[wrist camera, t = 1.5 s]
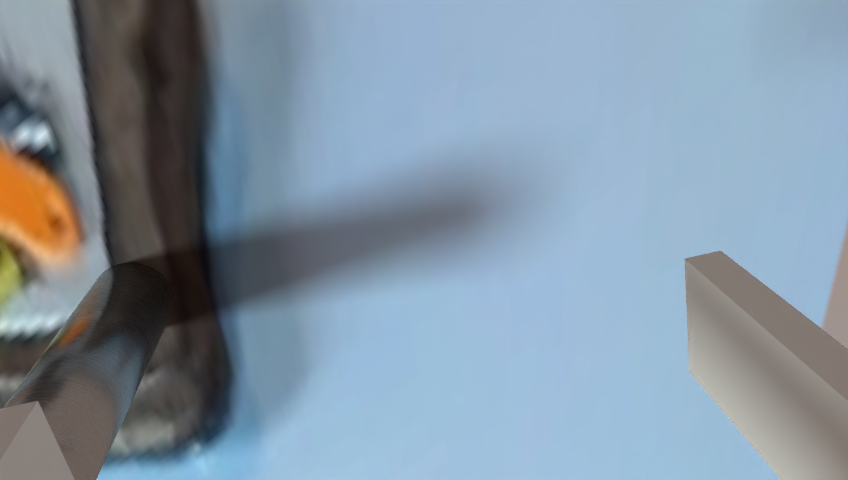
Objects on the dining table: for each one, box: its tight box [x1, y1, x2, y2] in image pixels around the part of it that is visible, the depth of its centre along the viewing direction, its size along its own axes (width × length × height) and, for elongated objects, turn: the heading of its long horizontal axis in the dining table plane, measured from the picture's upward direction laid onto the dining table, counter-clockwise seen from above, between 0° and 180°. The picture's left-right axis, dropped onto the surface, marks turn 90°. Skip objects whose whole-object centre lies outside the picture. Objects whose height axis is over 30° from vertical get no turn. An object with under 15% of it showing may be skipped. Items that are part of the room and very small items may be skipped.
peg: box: [3, 263, 174, 480], centre depth 31 cm, size 4×4×14 cm
